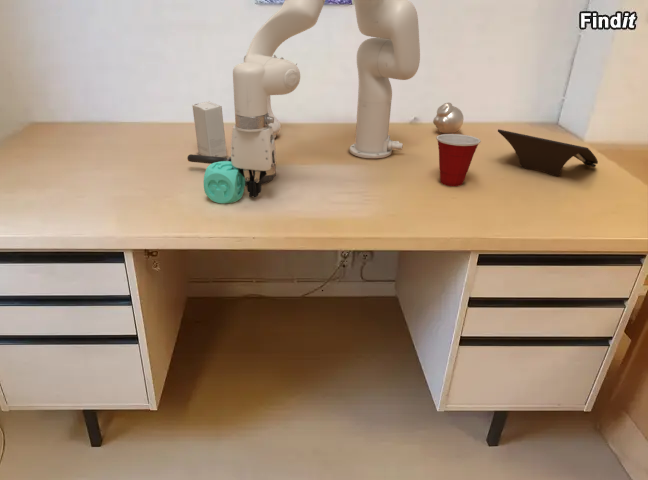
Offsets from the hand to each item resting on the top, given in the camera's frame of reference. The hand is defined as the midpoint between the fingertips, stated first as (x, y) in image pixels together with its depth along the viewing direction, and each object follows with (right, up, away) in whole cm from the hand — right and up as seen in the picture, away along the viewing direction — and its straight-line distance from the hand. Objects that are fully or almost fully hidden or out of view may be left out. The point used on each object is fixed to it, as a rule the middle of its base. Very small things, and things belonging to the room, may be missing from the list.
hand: (254, 195), depth 136 cm
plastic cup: (+51, +4, +9) cm, 52 cm away
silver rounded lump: (+60, +26, +44) cm, 79 cm away
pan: (-2, +7, +13) cm, 15 cm away
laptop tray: (+80, +10, +18) cm, 83 cm away
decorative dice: (-7, 0, +2) cm, 8 cm away
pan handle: (-13, +11, +15) cm, 23 cm away
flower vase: (+2, +25, +43) cm, 50 cm away
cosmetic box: (-14, +16, +28) cm, 35 cm away
